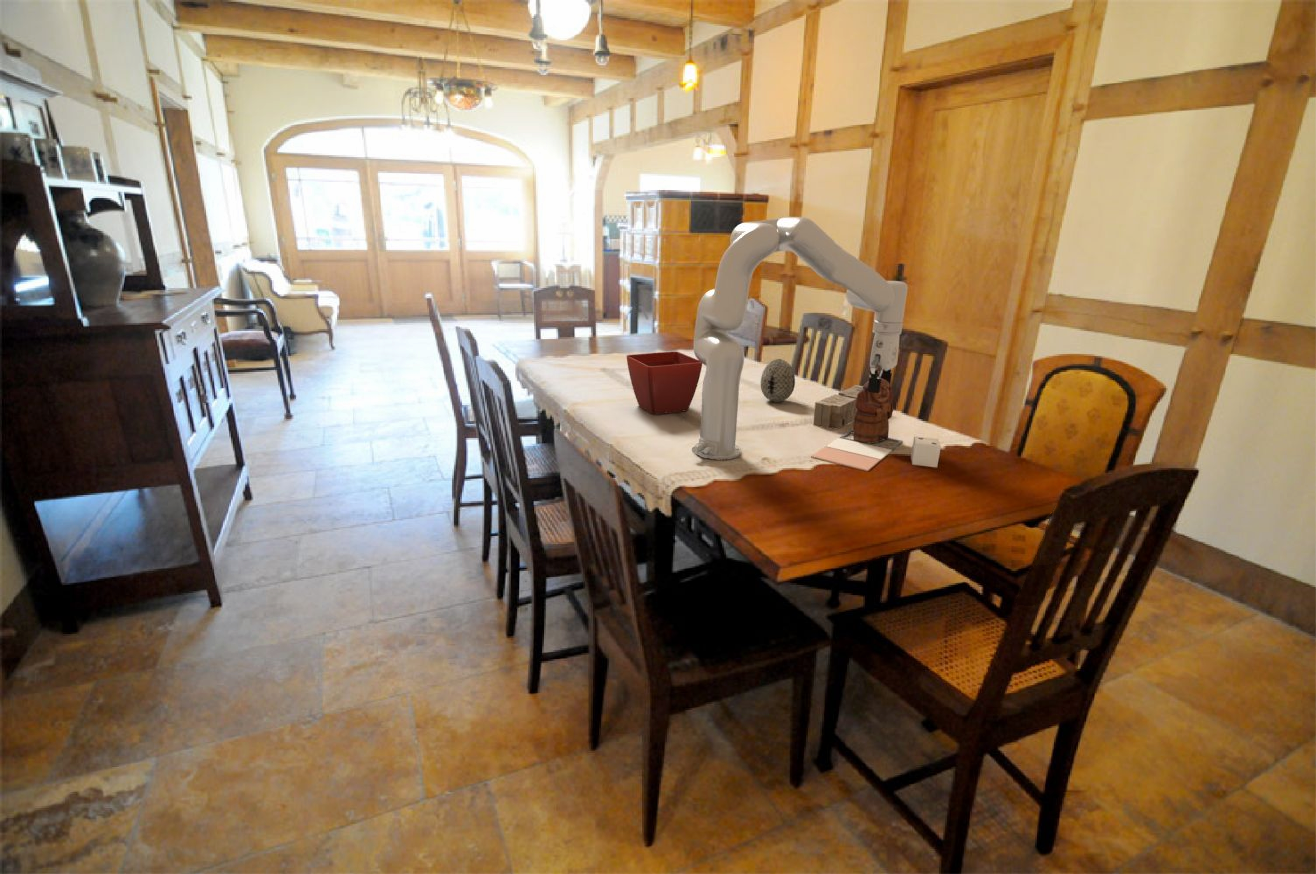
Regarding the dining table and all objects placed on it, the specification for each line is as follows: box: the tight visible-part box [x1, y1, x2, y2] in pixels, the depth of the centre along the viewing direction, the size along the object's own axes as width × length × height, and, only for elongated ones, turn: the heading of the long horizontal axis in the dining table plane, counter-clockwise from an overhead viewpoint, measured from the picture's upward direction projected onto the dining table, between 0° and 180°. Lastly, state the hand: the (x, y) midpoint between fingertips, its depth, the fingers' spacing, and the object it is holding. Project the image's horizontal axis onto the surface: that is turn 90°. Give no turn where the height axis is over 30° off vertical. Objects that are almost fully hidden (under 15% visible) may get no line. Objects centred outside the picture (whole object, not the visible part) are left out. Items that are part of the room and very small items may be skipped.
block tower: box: [813, 384, 864, 430], centre depth 203 cm, size 8×8×29 cm
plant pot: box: [626, 351, 703, 415], centre depth 206 cm, size 19×19×17 cm
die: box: [910, 435, 942, 468], centre depth 167 cm, size 6×6×6 cm
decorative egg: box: [760, 358, 796, 403], centre depth 218 cm, size 12×12×15 cm
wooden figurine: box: [852, 378, 895, 444], centre depth 181 cm, size 12×6×18 cm, turn 124°
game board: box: [810, 429, 904, 472], centre depth 176 cm, size 29×15×1 cm, turn 143°
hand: (879, 388), depth 179 cm, fingers closed on wooden figurine, 8 cm apart
